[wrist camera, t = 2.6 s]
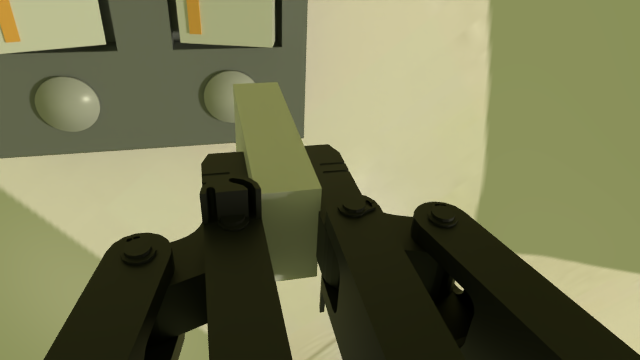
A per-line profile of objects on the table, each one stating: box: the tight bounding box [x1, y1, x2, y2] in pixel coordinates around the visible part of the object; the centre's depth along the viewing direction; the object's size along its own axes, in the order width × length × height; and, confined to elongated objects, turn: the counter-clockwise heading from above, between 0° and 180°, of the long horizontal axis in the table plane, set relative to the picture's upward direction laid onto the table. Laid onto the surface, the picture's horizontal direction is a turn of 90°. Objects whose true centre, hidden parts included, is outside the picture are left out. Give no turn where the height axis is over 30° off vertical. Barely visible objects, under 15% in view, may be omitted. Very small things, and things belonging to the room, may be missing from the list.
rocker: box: [176, 0, 275, 48], centre depth 29 cm, size 4×6×2 cm, turn 87°
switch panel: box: [0, 0, 308, 158], centre depth 31 cm, size 12×20×4 cm, turn 87°
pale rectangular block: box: [0, 0, 106, 54], centre depth 26 cm, size 4×6×2 cm, turn 87°
